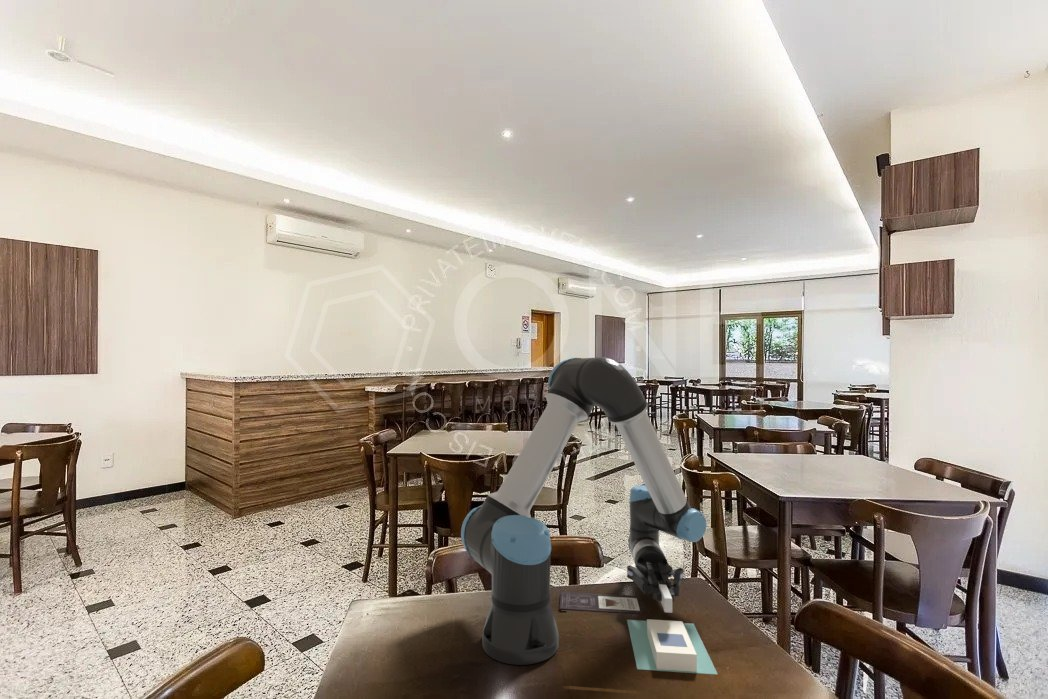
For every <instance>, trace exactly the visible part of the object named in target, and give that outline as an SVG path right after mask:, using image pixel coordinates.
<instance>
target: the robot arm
mask: <svg viewBox="0 0 1048 699" xmlns="http://www.w3.org/2000/svg"><path fill="white" fill-rule="evenodd" d="M547 382H548V383H547V384H548V391H547V392H546V394H545V399H546V401H547V402H546V403H547V405H546V407H545V408H544V410H543V412H542V414H541V415H540V416H539V419H538V421H537V423H536V424H535V426H534V428H533V429H532V431H531V433H530V435H529V437H528V438H527V439H526V441H525V443H524V445H523V447H522V449H521V450H520V452H519V454H518V456H517V457H516V459H515V460H514V462H513V464H512V466H511V468H510V469H509V471H508V473H507V475H506V476H505V478H504V480H503V481H502V484H501V485H500V487H498V488H499V489H498V490H497V491H495V492H491V493H489V494H487V496H486V498H485V499H484V501H483V503H482V504H481V505H479V506H476V507H474V508H472V509H471V510H470V511H469V512H468V513H467V515H466V516H465V518H464V519H463V521H462V525H461V528H460V538H461V544H462V546H463V549H464V550H465V551H466V553H467V555H468V556H469V557H470V558H471V559H472V560H473V561H474V562H476V563H478V564H479V565H480V566H481V567H482V568H483V569H485V570H486V572H488V573H490V574H491V604H490V608H489V609H488V613H487V617H486V620H485V623H484V626H483V630H482V632H481V633H482V638H481V639H482V640H481V641H482V643H481V644H482V645H481V646H482V649H483V651H484V652H485V653H486V655H488V656H489V657H490V658H492V659H493V660H496V661H497V662H500V663H504V664H507V665H515V666H524V665H525V666H527V665H533V664H539V663H542V662H544V661H547V660H548V659H550V658H552V657H553V656H554V655H555V654H556V653H557V652H558V649H559V645H560V642H559V641H560V636H559V634H560V633H559V632H560V631H559V628H558V626H557V625H558V624H557V621H556V619H555V616H554V612H553V609H552V605H551V552H552V543H551V537H550V535H551V534H550V530H549V528H548V527H547V525H546V524H545V523H544V522H543V521H541V520H539V519H537V518H535V517H532V516H531V509H532V508H533V505H534V504H535V502H536V500H537V499H538V496H539V494H540V493H541V491H542V489H543V487H544V485H545V484H546V482H547V480H548V478H549V476H550V475H551V472H553V469H554V467H555V466H556V464H557V462H558V460H559V458H560V456H561V454H562V453H563V450H564V449H565V447H566V446H567V443H568V442H569V440H570V439H571V436H572V434H573V432H574V430H575V429H576V426H578V423H580V422H582V421H586V420H588V418H589V417H590V414H591V413H592V412H593V410H594V408H595V407H598V408H600V410H602V411H603V412H604V414H605V416H606V418H607V419H608V421H609V423H611V424H615V426H616V428H617V430H618V432H619V434H620V436H621V438H622V440H623V442H624V445H625V446H626V449H627V450H628V452H629V455H630V457H631V459H632V461H633V463H634V465H635V468H636V470H637V472H638V473H639V475H640V477H641V479H642V480H641V481H643V484H644V485H643V484H642V485H641V484H640V485H635V486H632V487H631V489H630V492H629V502H628V503H629V535H628V541H627V542H628V545H627V546H628V549H629V552H630V554H631V556H632V559H633V562H634V565H635V566H633V565H631V564H630V565H627V566H626V569H627V570H626V575H627V576H626V577H627V578H628V579H630V580H631V581H632V582H633V583H634V584H635V585H636V586H637V587H638V588H639V590H640V591H641V592H642V593H643V594H644V595H646V596H647V595H650V594H652V600H654V601H656V602H660V603H661V606H662V609H663V612H664V613H668V614H670V613H673V603H674V602H675V597H680V594H681V593H680V592H681V583H682V582H683V581H684V568H682V567H678V568H674V569H673V567H672V565H670V564H669V562H668V560H667V558H666V555H665V554H664V552H663V550H662V548H661V546H660V532H663V533H665V534H668V535H670V536H673V537H675V538H677V539H678V540H684V541H686V542H690V543H696V542H699V541H700V540H701V539H702V538H703V537H704V536H705V534H706V531H707V519H706V517H705V515H704V514H703V513H702V512H701V511H700V510H698V509H696V508H692V507H691V506H690V503H689V501H688V499H687V497H686V495H685V492H684V490H683V488H682V486H681V483H680V481H679V479H678V478H677V475H676V473H675V471H674V468H673V467H672V464H671V463H670V460H669V458H668V456H667V454H666V452H665V449H664V447H663V445H662V443H661V441H660V438H659V437H658V434H657V432H656V430H655V427H654V426H653V423H652V421H651V418H650V417H649V415H648V413H647V408H648V406H649V405H648V403H647V400H646V397H645V396H644V394H643V392H642V389H641V388H640V387H639V385H638V384H637V382H636V380H635V379H634V378H633V375H632V374H630V372H629V371H628V370H627V369H626V368H625V367H624V366H623V365H622V364H621V363H619V362H618V361H616V360H614V359H612V358H610V357H605V356H598V357H585V358H584V357H583V358H582V357H572V358H568V359H564V360H562V361H560V362H558V363H557V364H556V365H555V366H554V367H553V368H552V370H551V372H550V374H549V376H548V381H547ZM670 577H672V578H673V583H672V580H670V579H669V578H670Z"/></svg>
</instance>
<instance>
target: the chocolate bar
mask: <svg viewBox="0 0 1048 699" xmlns="http://www.w3.org/2000/svg"><path fill="white" fill-rule="evenodd" d="M637 598H638V597H637V595H629V594H628V595H627V594H612V593H611V594H610V593H597V594H594V592H577V591H575V592H574V591H560V597H559V610H567V611H581V612H595V613H597V612H599V613H612V614H613V613H616V614H632V615H641V614H642V613H641V610H640V606H639V602H638V599H637ZM620 599H621V600H620ZM619 602H620V603H619Z"/></svg>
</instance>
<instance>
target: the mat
mask: <svg viewBox="0 0 1048 699" xmlns="http://www.w3.org/2000/svg"><path fill="white" fill-rule="evenodd" d="M626 622H627V628H628V632H629V636H630V641H631V646H632V651H633V655H634V659H635V664H636V669H637V670H639V671H640V670H642V671H644V670H645V671H658V672H671V673H672V672H673V673H686V674H687V673H689V674H701V675H715V676H716V675H719V674H718V671H717V670H716V668H715V666H714V663H713V661H712V659H711V657H710V654H709V653H708V651H707V649H706V647H705V645H704V643H703V640H702V639H701V636H700V634H699V632H698V630H697V628H696V626H695V623H693V622H692V623H689V622H687V623H686V622H683V624H684V626H685V629H686V631H687V633H688V636H689V638H690V640H691V642H692V645H693V647H694V649H695V652H696V654H697V672H691V671H676V670H661V669H657V668H656V664H655V661H654V657H653V654H652V650H651V646H650V643H649V639H648V636H647V620H638V619H626Z"/></svg>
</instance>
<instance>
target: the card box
mask: <svg viewBox="0 0 1048 699" xmlns="http://www.w3.org/2000/svg"><path fill="white" fill-rule="evenodd" d="M646 621H647V636H648V639H649V643H650V646H651V650H652V654H653V657H654V661H655V664H656V668H657V669H661V670H676V671H691V672H697V654H696V652H695V649H694V647H693V645H692V642H691V640H690V638H689V636H688V633H687V631H686V629H685V626H684V624H683V623H684V621H681V620H665V619H648V618H647V619H646Z"/></svg>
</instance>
